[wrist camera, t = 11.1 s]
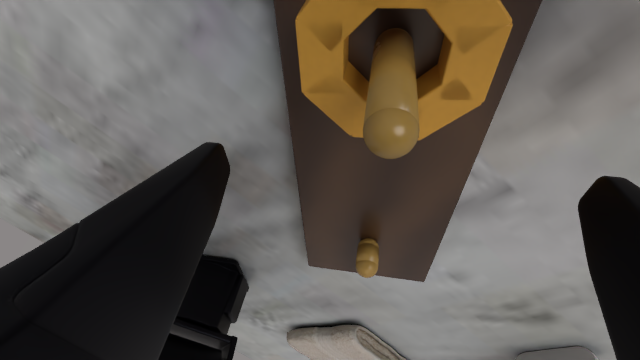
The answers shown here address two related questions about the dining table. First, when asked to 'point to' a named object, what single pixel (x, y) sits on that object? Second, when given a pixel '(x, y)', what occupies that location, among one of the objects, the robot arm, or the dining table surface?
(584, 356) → the grey block
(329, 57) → the ring
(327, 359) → the washcloth
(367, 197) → the peg rack
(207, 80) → the dining table surface
